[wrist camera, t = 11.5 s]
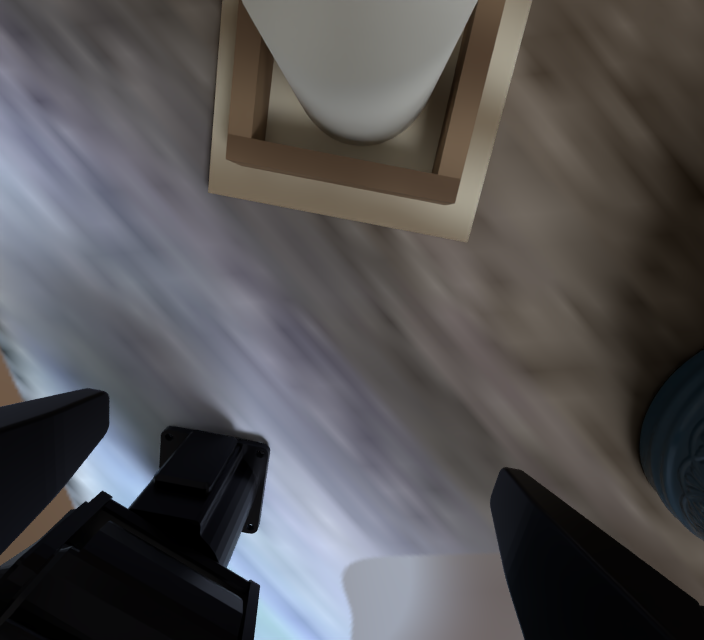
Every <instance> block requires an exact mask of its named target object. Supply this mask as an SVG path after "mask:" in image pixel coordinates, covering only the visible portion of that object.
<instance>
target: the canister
mask: <svg viewBox="0 0 704 640" xmlns="http://www.w3.org/2000/svg"><path fill="white" fill-rule="evenodd" d="M639 445H640V459H641V464H642V467H643V470H644V473H645V475H646V477H647V479H648V481H649V483H650V484H651V486H652V487H653V489H654V490H655V491H656V492H657V493H658V495H659V497H660V499H661V500H662V502H663V503H664V505H665V506H666V507H667V509H668V510H669V511H670V512H671V513H672V514H673V515H674V516H675V517H676V518H677V519H678V520H679V521H680V522H681V523H682V524H683V525H684V526H685V527H686V528H687V529H688V530H689V531H690V532H692V533H693V534H694V535H696V536H697V537H698V538H700V539H701V540H703V541H704V349H703V350H702V351H700V352H699V353H697V354H696V355H694V356H693V357H692V358H690V359H689V360H688V361H687V362H685V363H684V364H683V365H682V366H681V367H680V368H678V369H677V370H676V371H675V372H674V373H673V374H672V375H671V376H670V378H669V379H668V380H667V381H666V382H665V383H664V385H663V386H662V387H661V389H660V390H659V391H658V393H657V394H656V396H655V398H654V399H653V401H652V403H651V405H650V407H649V409H648V411H647V413H646V416H645V419H644V421H643V425H642V429H641V434H640V444H639Z"/></svg>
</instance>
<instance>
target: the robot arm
mask: <svg viewBox="0 0 704 640" xmlns="http://www.w3.org/2000/svg"><path fill="white" fill-rule="evenodd" d="M108 427H109V395H108V393H107V392H105V391H101V390H96V389H91V388H86V389H81V390H76V391H72V392H67V393H62V394H58V395H53V396H49V397H44V398H39V399H35V400H30V401H25V402H21V403H16V404H12V405H7V406H2V407H0V555H1V554H2V553H3V552H4V551H5V550H6V549H7V547H8V546H9V545H10V544H11V543H12V542H13V541H14V540H15V539H16V538H17V537H18V536H19V535H20V534H21V533H22V532H23V531H24V530H25V528H26V527H27V526H28V525H29V524H30V523H31V522H32V521H33V520H34V519H35V518H36V517H37V516H38V515H39V514H40V513H41V512H42V510H44V508H45V507H46V506H47V505H48V504H49V503H50V502H51V501H52V500H53V498H54V497H56V495H57V494H58V493H59V492H60V491H61V489H62V488H63V487H64V486H65V485H66V484H67V482H68V481H69V480H70V478H71V477H72V476H73V475H74V473H75V472H76V471H77V470H78V468H79V467H80V466H81V465H82V463H83V462H84V461H85V460H86V458H87V457H88V456H89V455H90V453H91V452H92V451H93V450H94V448H95V447H96V446H97V445H98V443H99V442H100V441H101V439H102V438H103V437H104V436H105V434H106V432H107V430H108ZM169 433H170V434H172V435H173V437H171V436H170V435H169ZM258 451H263V452H264V454H261V453H259V452H258ZM269 455H270V448H269V447H268V446H267V445H266V444H264V443H260V442H254V441H249V440H244V439H238V438H234V437H230V436H225V435H220V434H214V433H209V432H204V431H198V430H191V429H185V428H180V427H175V426H169V427H167V428H166V429H165V430H164V431H163V432H162V434H161V445H160V466H159V470H158V472H157V473H156V474H155V476H154V478H153V479H152V480H151V482H150V483H149V484H148V485H147V486H146V488H145V489H144V490H143V491H142V492H141V494H140V495H139V496H138V497H137V498H136V500H135V501H134V502H133V503H132V504H131V506H130V507H129V508H128V509H127V508H126V507H124V506H122V505H121V504H119V503H117V502H116V501H114V500H112V496H111V495H109V494H107V493H106V492H104V491H101V492H100V493H99V494H98V495H97V496H96V497H95V498H93V499H92V500H91V501H90V502H89V503H88V502H86V501H85V502H84V503H83V504H82V505H80V506H79V507H78V508H77V509H73V510H70V511H69V512H68V513H67V514H66V515H65V516H64V517H63V518H62V519H61V520H60V521H59V522H58V523H57V524H55V525H54V526H53V527H52V528H51V529H50V530H49V531H48V532H47V533H46V534H45V535H44V536H43V537H42V538H40V539H39V540H38V541H37V542H35V543H34V544H32V545H31V546H29V547H28V548H26V549H25V550H23V551H22V552H20V553H19V554H17V555H16V556H14V557H13V558H11V559H10V560H8V561H7V562H5V563H4V564H2V565H1V566H0V640H254V633H255V625H256V616H257V608H258V599H259V590H260V585H259V584H257V583H255V582H254V581H252V580H249V581H247V580H246V579H244V578H242V577H241V576H239V575H237V574H236V573H234V572H232V571H231V570H229V569H227V566H228V563H229V561H230V559H231V556H232V554H233V551H234V549H235V546H236V544H237V541H238V539H239V536H240V534H241V532H244V533H251V534H252V533H255V532H256V531H257V530H258V527H259V524H260V518H261V511H262V504H263V497H264V490H265V483H266V476H267V469H268V462H269ZM490 507H491V512H492V517H493V522H494V527H495V532H496V536H497V541H498V546H499V551H500V555H501V559H502V565H503V569H504V573H505V578H506V581H507V585H508V588H509V592H510V595H511V598H512V601H513V604H514V608H515V611H516V614H517V617H518V620H519V624H520V627H521V630H522V633H523V636H524V640H704V606H700V605H699V603H698V602H697V601H696V600H695V599H694V598H692V597H691V596H690V595H688V594H687V593H686V592H684V591H683V590H682V589H680V588H679V587H678V586H676V585H675V584H674V583H672V582H671V581H670V580H668V579H667V578H666V577H664V576H663V575H662V574H660V573H659V572H658V571H656V570H655V569H654V568H652V567H651V566H649V565H648V564H647V563H645V562H644V561H643V560H641V559H640V558H639V557H637V556H636V555H635V554H633V553H632V552H631V551H629V550H628V549H627V548H625V547H624V546H623V545H621V544H620V543H619V542H617V541H616V540H615V539H613V538H612V537H611V536H609V535H608V534H607V533H605V532H604V531H603V530H601V529H600V528H599V527H597V526H596V525H595V524H593V523H592V522H591V521H589V520H588V519H587V518H585V517H584V516H583V515H581V514H580V513H578V512H577V511H576V510H574V509H573V508H572V507H570V506H569V505H568V504H566V503H565V502H564V501H562V500H561V499H560V498H558V497H557V496H556V495H554V494H553V493H552V492H550V491H549V490H548V489H546V488H545V487H544V486H542V485H541V484H540V483H538V482H537V481H536V480H534V479H533V478H532V477H530V476H529V475H528V474H526V473H525V472H524V471H522V470H519V469H513V468H508V467H504V468H502V469H501V470H500V472H499V475H498V478H497V480H496V483H495V486H494V489H493V492H492V495H491V499H490ZM250 524H252V525H250Z"/></svg>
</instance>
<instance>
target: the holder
mask: <svg viewBox="0 0 704 640" xmlns="http://www.w3.org/2000/svg"><path fill="white" fill-rule="evenodd" d="M531 3H532V0H478V1H477V3H476V5H475V7H474V9H473V11H472V13H471V15H470V17H469V19H468V21H467V23H466V25H465V27H464V29H463V31H462V33H461V35H460V37H459V39H458V41H457V43H456V45H455V47H454V49H453V51H452V53H451V55H450V57H449V59H448V61H447V63H446V65H445V67H444V69H443V72H442V74H441V76H440V78H439V80H438V82H437V84H436V86H435V88H434V90H433V92H432V94H431V96H430V98H429V100H428V102H427V103H426V105H425V107H424V109H423V111H422V112H421V113H420V115H419V116H418V118H417V119H416V120H415V121H414V122H413V123H412V124H411V126H410V127H408V128H407V129H406V130H405V131H404V132H402V133H401V134H399V135H398V136H396V137H395V138H393V139H391V140H388V141H386V142H383V143H380V144H376V145H370V146H356V145H349V144H346V143H342V142H340V141H337V140H335V139H333V138H331V137H330V136H328V135H326V134H325V133H324V132H322V131H321V130H320V129H319V128H318V127H317V126H316V125H315V124H314V123H313V122H312V121H311V119H310V118H309V117H308V115H307V114H306V112H305V111H304V109H303V107H302V106H301V104H300V102H299V100H298V99H297V97H296V95H295V93H294V92H293V90H292V88H291V86H290V85H289V83H288V81H287V79H286V78H285V76H284V74H283V73H282V71H281V69H280V67H279V66H278V64H277V62H276V60H275V59H274V57H273V55H272V53H271V52H270V50H269V48H268V46H267V45H266V43H265V41H264V40H263V38H262V36H261V34H260V33H259V31H258V29H257V27H256V26H255V24H254V22H253V20H252V19H251V17H250V15H249V13H248V12H247V10H246V8H245V6H244V4H243V2H242V0H222V12H221V25H220V39H219V52H218V66H217V80H216V93H215V107H214V120H213V134H212V148H211V161H210V175H209V188H208V193H213V194H219V195H224V196H229V197H234V198H239V199H245V200H250V201H255V202H260V203H265V204H270V205H276V206H281V207H286V208H291V209H296V210H302V211H307V212H312V213H317V214H322V215H327V216H333V217H338V218H343V219H348V220H353V221H359V222H364V223H369V224H374V225H379V226H384V227H390V228H395V229H400V230H405V231H410V232H416V233H421V234H426V235H431V236H436V237H441V238H447V239H452V240H457V241H462V242H467V243H468V239H469V235H470V231H471V228H472V224H473V220H474V216H475V213H476V209H477V205H478V201H479V198H480V194H481V190H482V186H483V183H484V179H485V175H486V171H487V168H488V164H489V160H490V156H491V153H492V149H493V145H494V141H495V138H496V134H497V130H498V126H499V123H500V119H501V115H502V111H503V108H504V104H505V100H506V96H507V93H508V89H509V85H510V81H511V78H512V74H513V70H514V66H515V63H516V59H517V55H518V51H519V48H520V44H521V40H522V36H523V33H524V29H525V25H526V22H527V18H528V14H529V10H530V7H531Z"/></svg>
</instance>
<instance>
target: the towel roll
mask: <svg viewBox="0 0 704 640" xmlns="http://www.w3.org/2000/svg"><path fill="white" fill-rule="evenodd" d="M477 1H478V0H242V2H243V4H244V6H245V8H246V10H247V12H248V13H249V15H250V17H251V19H252V20H253V22H254V24H255V26H256V27H257V29H258V31H259V33H260V34H261V36H262V38H263V40H264V41H265V43H266V45H267V46H268V48H269V50H270V52H271V53H272V55H273V57H274V59H275V60H276V62H277V64H278V66H279V67H280V69H281V71H282V73H283V74H284V76H285V78H286V79H287V81H288V83H289V85H290V86H291V88H292V90H293V92H294V93H295V95H296V97H297V99H298V100H299V102H300V104H301V106H302V107H303V109H304V111H305V112H306V114H307V115H308V117H309V118H310V119H311V121H312V122H313V123H314V124H315V125H316V126H317V127H318V128H319V129H320V130H321V131H322V132H324V133H325V134H326V135H328V136H330V137H331V138H333V139H335V140H337V141H340V142H342V143H346V144H349V145H356V146H370V145H376V144H380V143H383V142H386V141H388V140H391V139H393V138H395V137H396V136H398V135H399V134H401V133H402V132H404V131H405V130H406V129H407V128H408V127H410V126H411V124H412V123H413V122H414V121H415V120H416V119H417V118H418V116H419V115H420V113H421V112H422V111H423V109H424V107H425V105H426V103H427V102H428V100H429V98H430V96H431V94H432V92H433V90H434V88H435V86H436V84H437V82H438V80H439V78H440V76H441V74H442V72H443V69H444V67H445V65H446V63H447V61H448V59H449V57H450V55H451V53H452V51H453V49H454V47H455V45H456V43H457V41H458V39H459V37H460V35H461V33H462V31H463V29H464V27H465V25H466V23H467V21H468V19H469V17H470V15H471V13H472V11H473V9H474V7H475V5H476V3H477Z"/></svg>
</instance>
